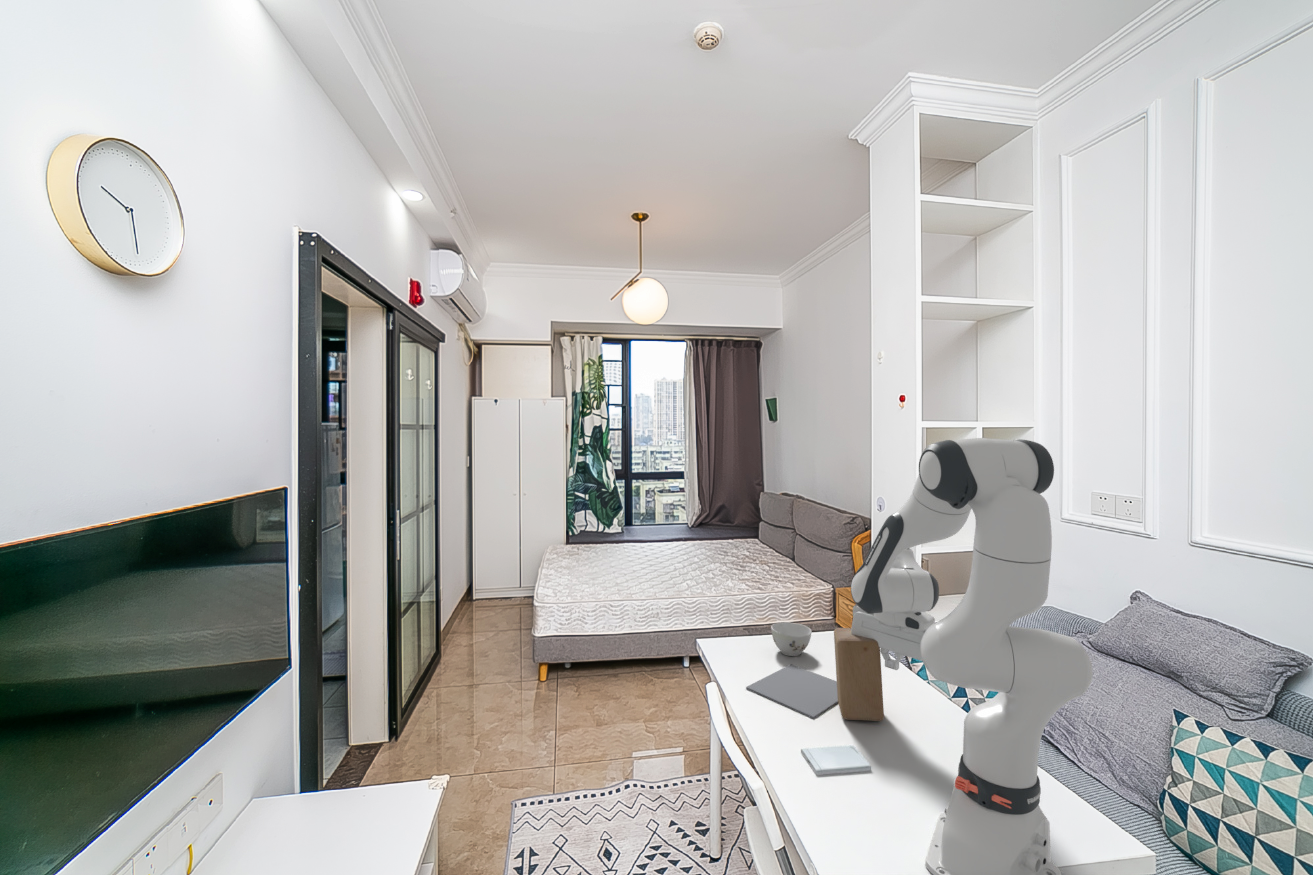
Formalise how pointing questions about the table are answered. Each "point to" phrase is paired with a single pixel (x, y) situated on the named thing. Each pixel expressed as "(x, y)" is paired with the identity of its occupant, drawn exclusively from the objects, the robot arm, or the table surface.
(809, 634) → the teacup
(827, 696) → the grey flat square slab
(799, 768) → the table surface
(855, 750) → the hard drive
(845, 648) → the wooden block
